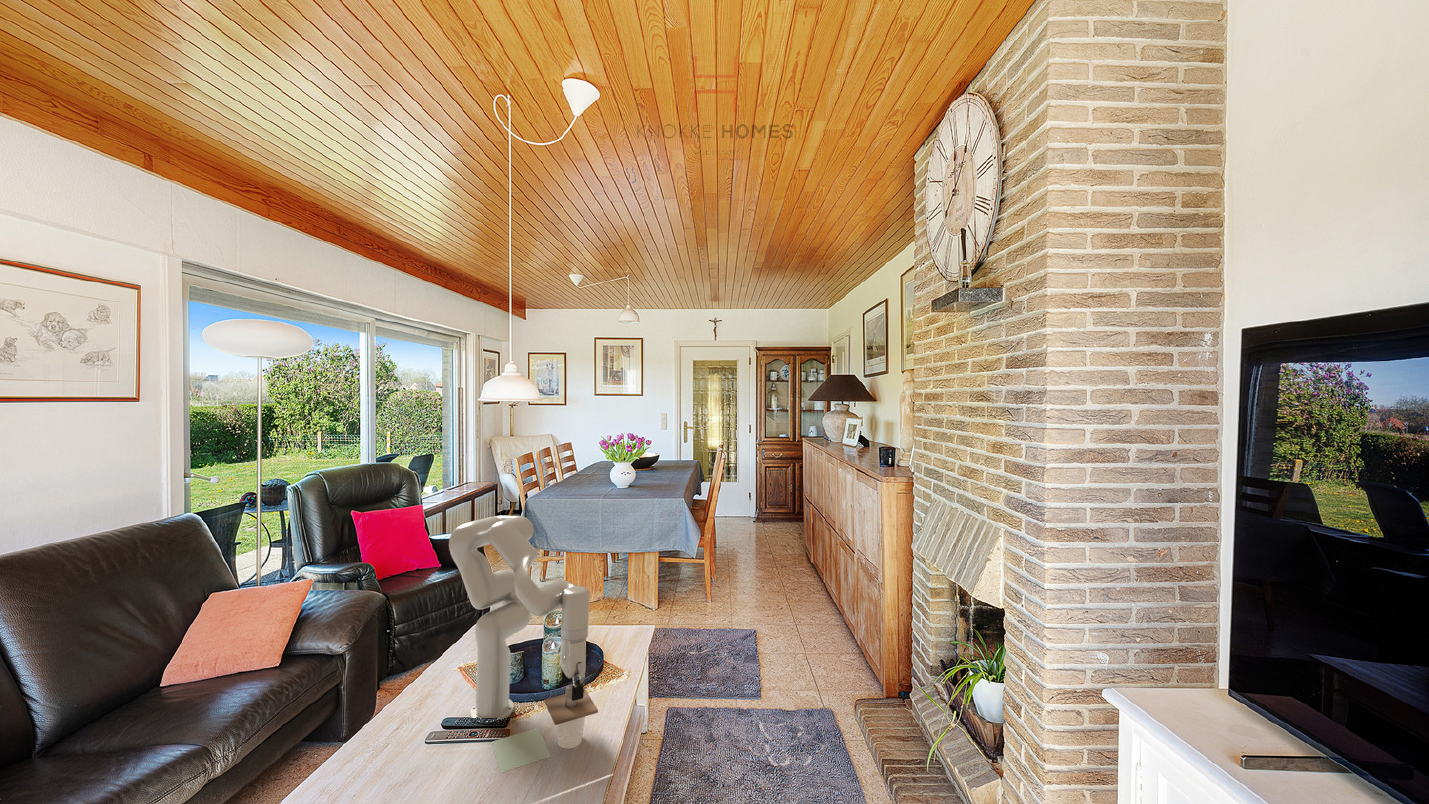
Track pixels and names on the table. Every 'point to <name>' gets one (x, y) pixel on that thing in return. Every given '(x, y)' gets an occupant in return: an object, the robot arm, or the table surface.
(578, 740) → the white cup
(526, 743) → the sage mat
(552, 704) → the walnut lid
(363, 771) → the table surface
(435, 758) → the table surface
